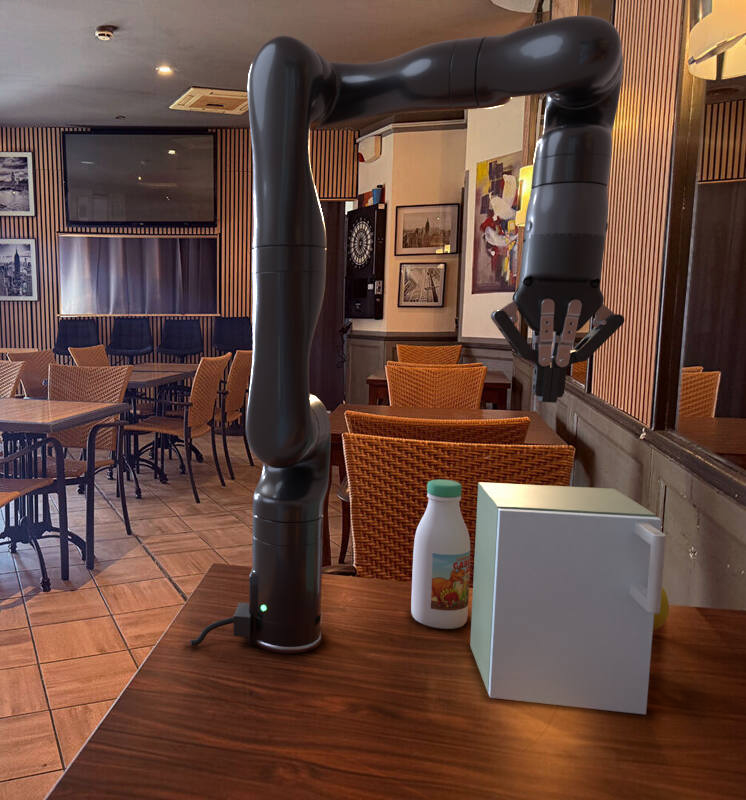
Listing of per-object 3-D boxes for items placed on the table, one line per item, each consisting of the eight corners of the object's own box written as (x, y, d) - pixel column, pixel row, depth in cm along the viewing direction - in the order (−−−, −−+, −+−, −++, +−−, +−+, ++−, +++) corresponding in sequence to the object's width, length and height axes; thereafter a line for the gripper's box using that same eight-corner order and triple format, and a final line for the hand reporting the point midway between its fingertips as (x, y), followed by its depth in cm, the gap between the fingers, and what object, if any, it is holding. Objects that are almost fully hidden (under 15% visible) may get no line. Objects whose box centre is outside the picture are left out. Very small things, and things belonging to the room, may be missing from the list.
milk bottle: (407, 624, 97) (413, 485, 95) (413, 604, 104) (418, 474, 102) (466, 634, 94) (473, 491, 92) (468, 612, 101) (474, 479, 99)
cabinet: (641, 709, 76) (656, 514, 74) (487, 693, 79) (497, 506, 77) (602, 658, 88) (614, 488, 86) (470, 646, 91) (478, 482, 89)
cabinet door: (666, 742, 70) (684, 534, 68) (498, 723, 73) (509, 523, 71) (642, 709, 76) (657, 517, 73) (488, 693, 79) (498, 508, 77)
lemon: (673, 644, 92) (678, 586, 91) (628, 640, 93) (632, 582, 92) (656, 626, 97) (660, 571, 96) (613, 622, 98) (617, 568, 98)
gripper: (622, 239, 73) (603, 401, 75) (489, 237, 76) (475, 393, 78) (650, 230, 66) (628, 410, 68) (502, 228, 69) (486, 401, 71)
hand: (546, 401), depth 73 cm, fingers closed
